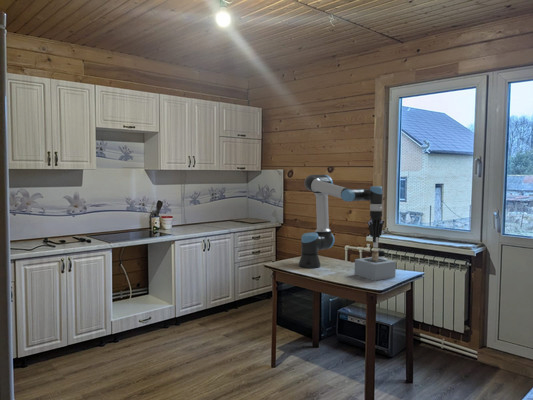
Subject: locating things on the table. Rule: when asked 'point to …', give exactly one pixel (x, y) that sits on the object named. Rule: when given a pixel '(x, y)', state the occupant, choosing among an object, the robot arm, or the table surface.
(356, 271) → the socket block
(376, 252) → the peg
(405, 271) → the table surface
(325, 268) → the table surface
